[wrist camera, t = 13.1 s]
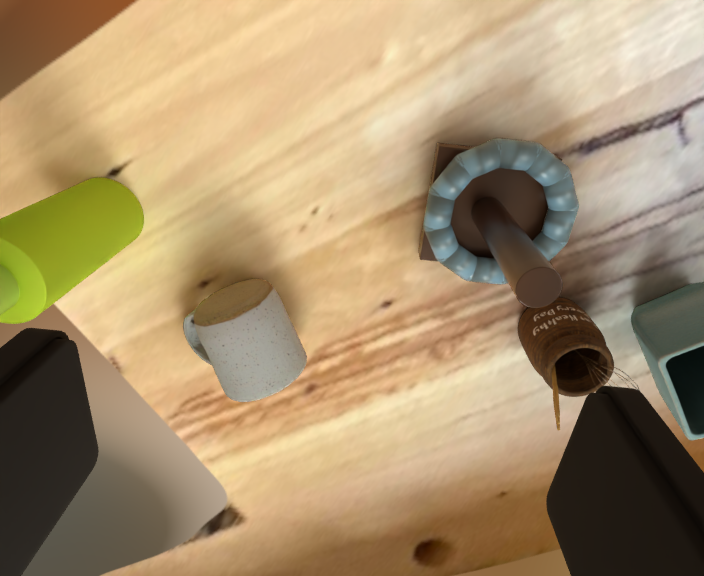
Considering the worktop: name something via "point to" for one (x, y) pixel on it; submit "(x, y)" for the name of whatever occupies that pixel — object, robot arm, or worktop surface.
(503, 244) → the peg stand
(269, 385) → the ceramic mug
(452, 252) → the ring
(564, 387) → the utensil holder
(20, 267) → the soap dispenser
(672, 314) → the flower pot
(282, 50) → the worktop surface
